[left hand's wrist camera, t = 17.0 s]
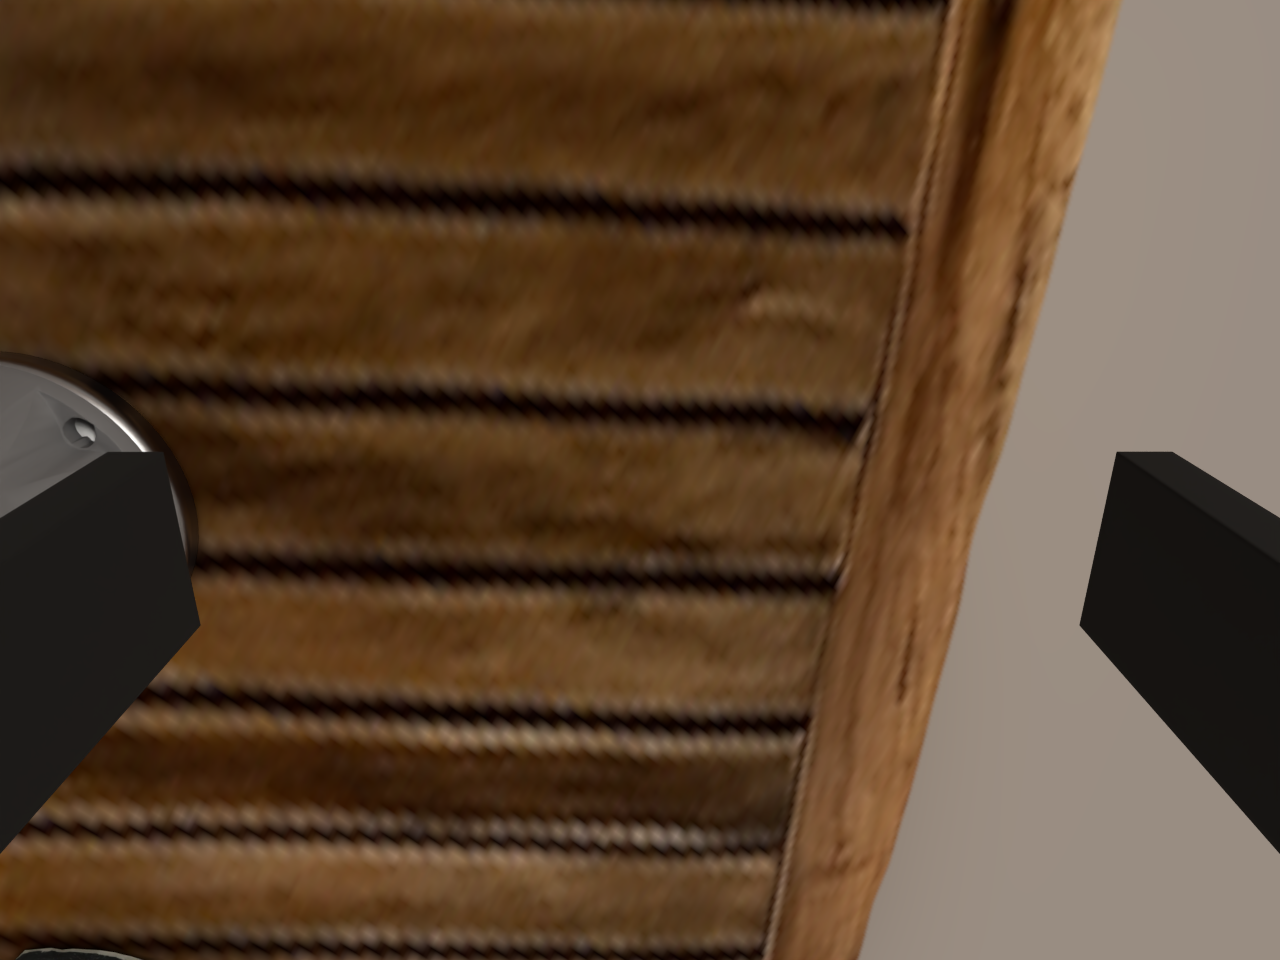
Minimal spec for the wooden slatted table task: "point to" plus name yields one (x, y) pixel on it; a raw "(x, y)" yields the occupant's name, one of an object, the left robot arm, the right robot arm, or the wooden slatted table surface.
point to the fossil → (71, 955)
